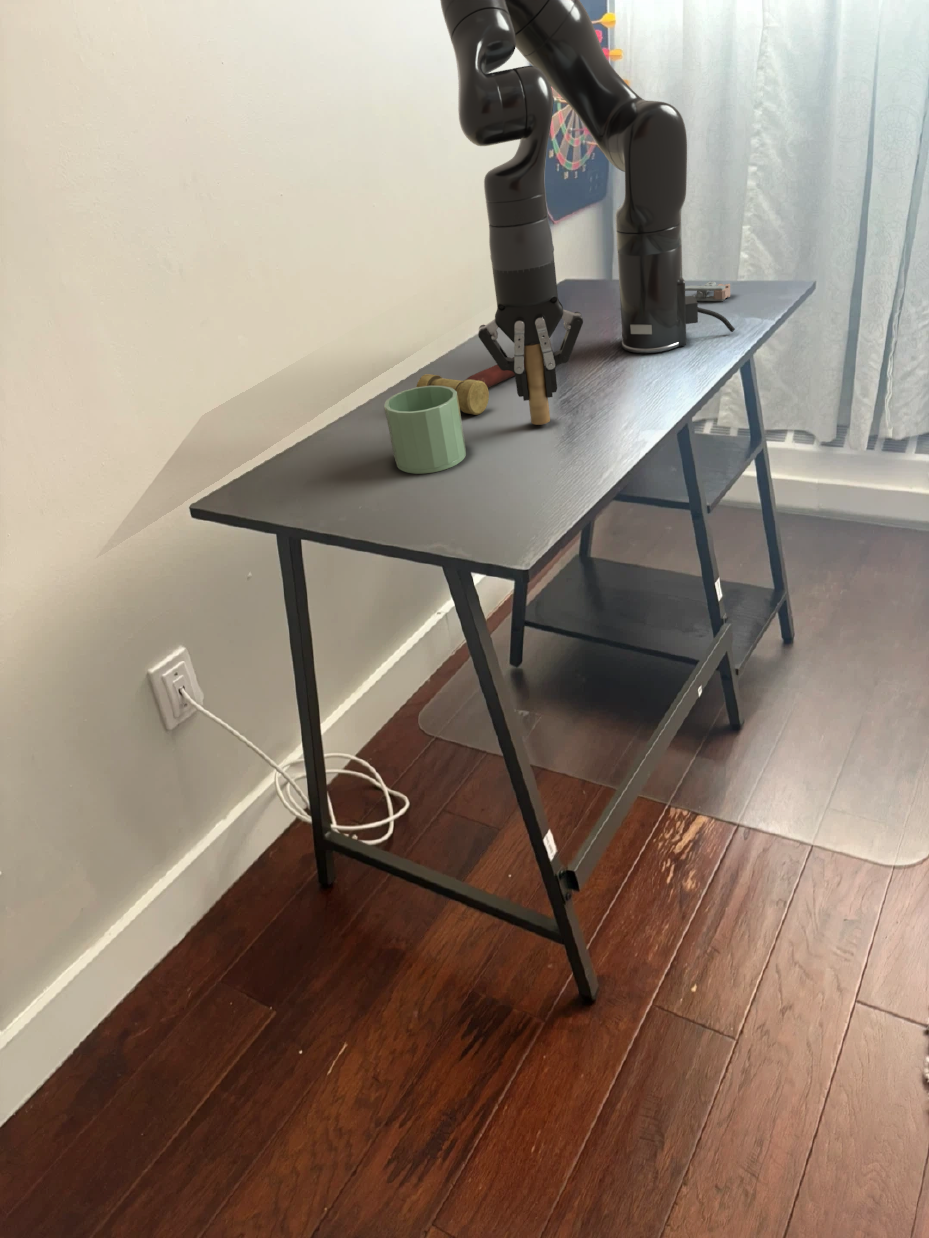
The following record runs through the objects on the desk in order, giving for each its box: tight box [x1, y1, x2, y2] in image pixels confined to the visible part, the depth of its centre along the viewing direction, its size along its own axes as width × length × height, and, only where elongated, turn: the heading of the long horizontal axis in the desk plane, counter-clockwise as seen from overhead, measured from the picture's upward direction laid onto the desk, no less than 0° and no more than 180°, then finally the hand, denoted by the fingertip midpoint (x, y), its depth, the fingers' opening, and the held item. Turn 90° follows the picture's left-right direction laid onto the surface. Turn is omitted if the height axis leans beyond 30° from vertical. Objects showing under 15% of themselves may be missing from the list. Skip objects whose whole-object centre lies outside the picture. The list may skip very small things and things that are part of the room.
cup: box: [383, 386, 467, 475], centre depth 120 cm, size 9×9×8 cm
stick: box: [524, 343, 551, 426], centre depth 124 cm, size 2×2×10 cm
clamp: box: [685, 281, 731, 302], centre depth 164 cm, size 15×2×10 cm
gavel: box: [415, 356, 525, 416], centre depth 140 cm, size 21×5×10 cm
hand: (538, 396), depth 124 cm, fingers closed on stick, 2 cm apart
